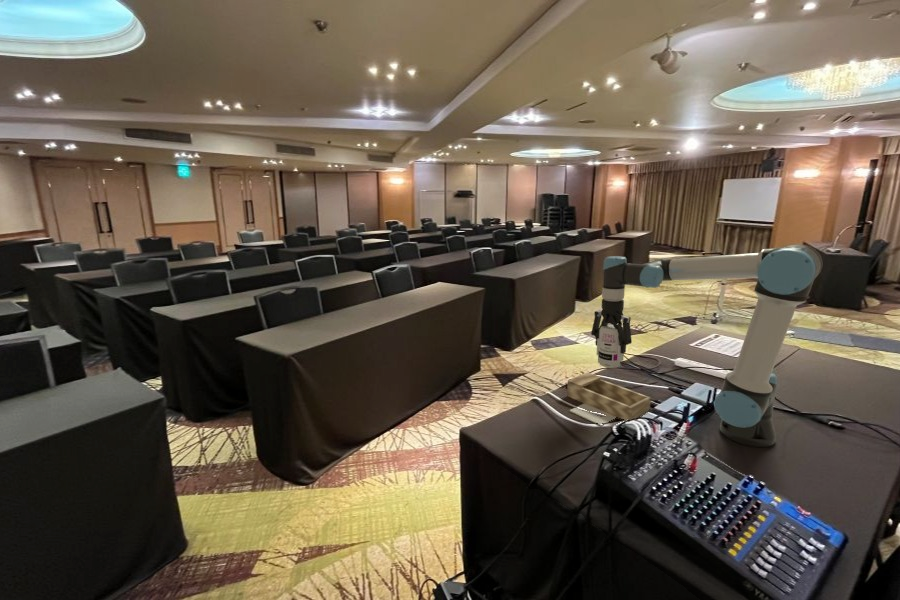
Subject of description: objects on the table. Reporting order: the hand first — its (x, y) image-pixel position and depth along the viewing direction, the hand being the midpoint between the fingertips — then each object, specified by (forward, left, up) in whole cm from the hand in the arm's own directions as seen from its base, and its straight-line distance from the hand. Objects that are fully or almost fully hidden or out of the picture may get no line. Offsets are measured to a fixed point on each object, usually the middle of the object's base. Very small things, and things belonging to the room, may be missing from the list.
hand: (609, 357), depth 155 cm
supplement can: (0, 0, -3) cm, 3 cm away
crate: (+2, -2, -20) cm, 21 cm away
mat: (0, +9, -20) cm, 23 cm away
